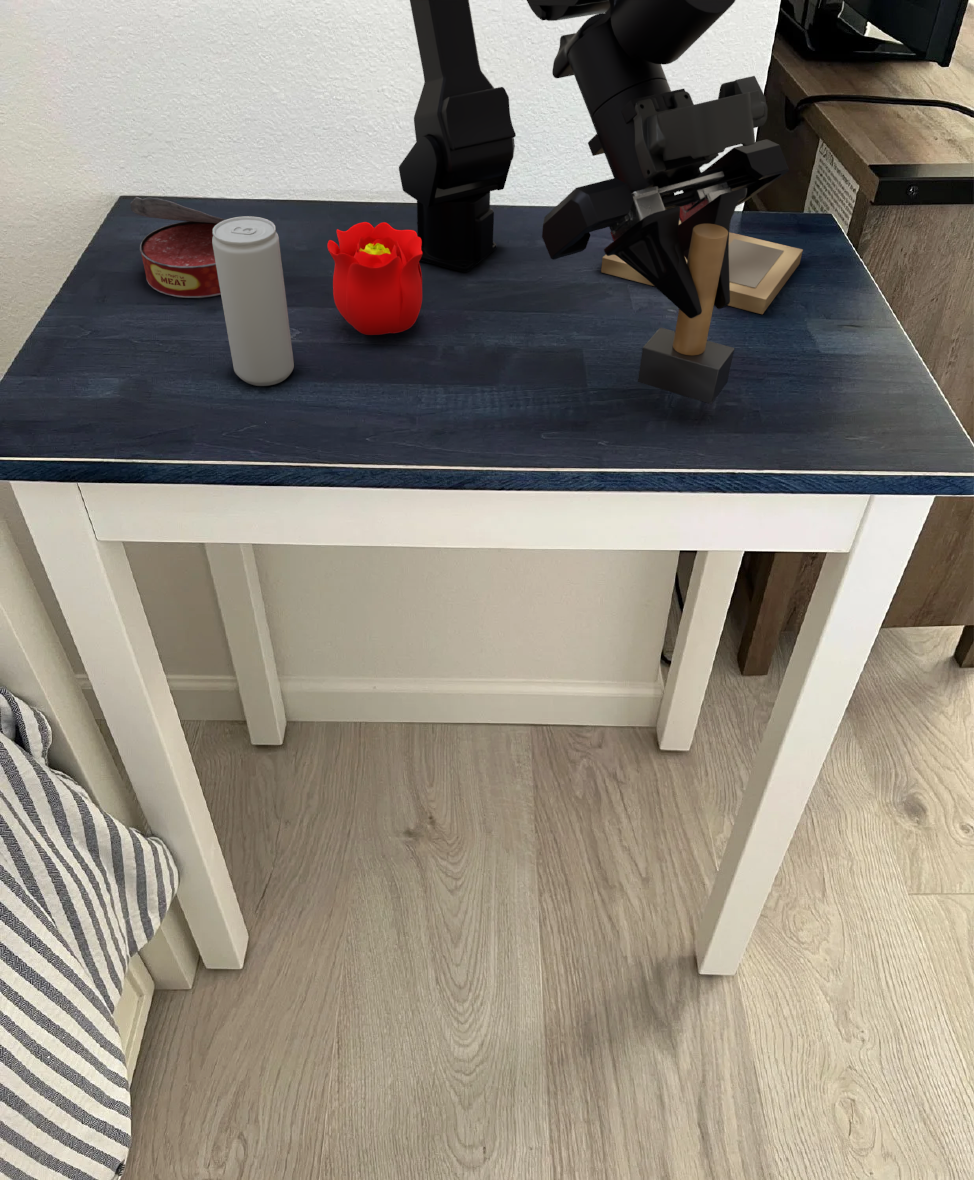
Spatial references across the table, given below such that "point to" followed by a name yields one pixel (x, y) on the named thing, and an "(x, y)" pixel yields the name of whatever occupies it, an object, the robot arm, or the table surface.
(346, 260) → the flower
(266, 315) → the beverage can
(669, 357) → the hammer
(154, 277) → the canned food
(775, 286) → the cutting board
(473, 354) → the table surface
